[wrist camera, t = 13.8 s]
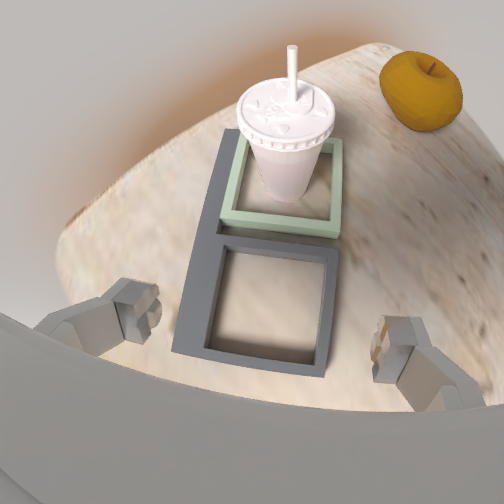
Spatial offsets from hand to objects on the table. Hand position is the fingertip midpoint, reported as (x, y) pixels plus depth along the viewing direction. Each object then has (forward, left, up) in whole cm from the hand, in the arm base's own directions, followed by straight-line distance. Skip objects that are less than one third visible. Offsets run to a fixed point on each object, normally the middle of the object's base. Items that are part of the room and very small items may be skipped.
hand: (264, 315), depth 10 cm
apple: (-12, -24, -13) cm, 30 cm away
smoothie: (+1, -13, -13) cm, 18 cm away
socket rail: (+1, -8, -12) cm, 15 cm away
